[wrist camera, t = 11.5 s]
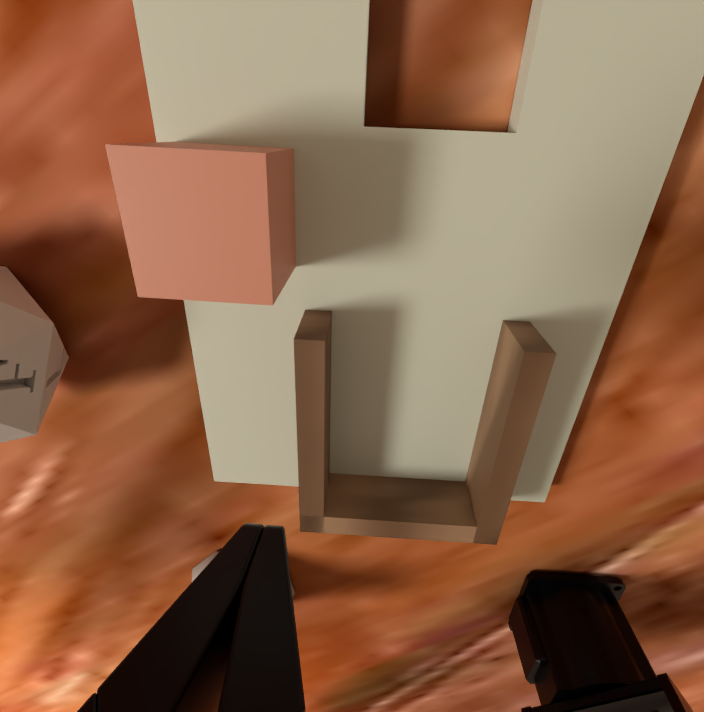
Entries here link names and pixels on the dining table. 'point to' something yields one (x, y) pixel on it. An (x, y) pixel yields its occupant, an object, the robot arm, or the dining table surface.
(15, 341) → the die
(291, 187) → the block
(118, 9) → the dining table surface
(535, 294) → the board
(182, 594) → the robot arm
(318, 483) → the cubby
